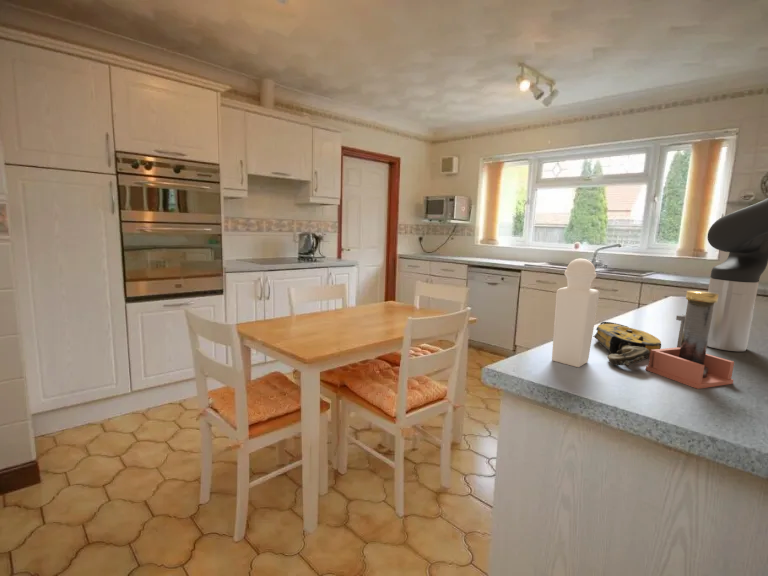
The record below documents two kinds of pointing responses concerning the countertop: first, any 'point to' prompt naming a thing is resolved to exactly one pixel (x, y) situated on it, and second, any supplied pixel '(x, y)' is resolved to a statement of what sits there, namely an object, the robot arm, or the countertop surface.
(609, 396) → the countertop surface
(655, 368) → the keeper bracket
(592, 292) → the white square bottle
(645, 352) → the pulley block
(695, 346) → the tie-down post
